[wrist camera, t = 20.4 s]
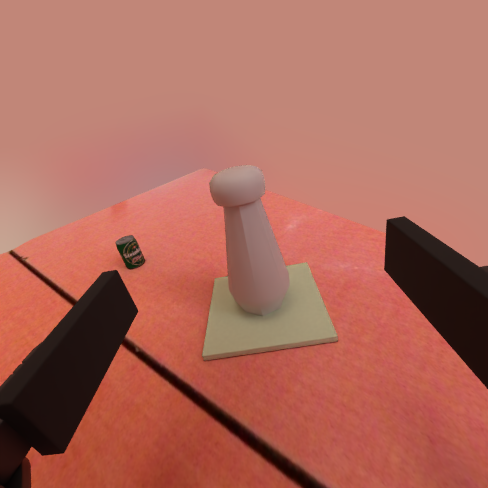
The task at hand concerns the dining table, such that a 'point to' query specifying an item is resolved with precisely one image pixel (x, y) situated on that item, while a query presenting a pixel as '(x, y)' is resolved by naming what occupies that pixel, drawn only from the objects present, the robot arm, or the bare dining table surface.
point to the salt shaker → (250, 241)
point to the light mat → (268, 320)
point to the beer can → (130, 252)
